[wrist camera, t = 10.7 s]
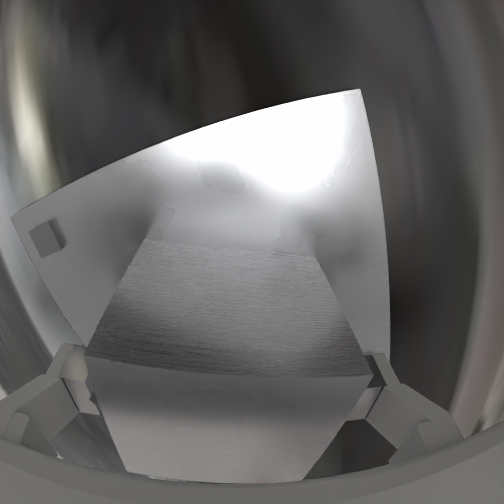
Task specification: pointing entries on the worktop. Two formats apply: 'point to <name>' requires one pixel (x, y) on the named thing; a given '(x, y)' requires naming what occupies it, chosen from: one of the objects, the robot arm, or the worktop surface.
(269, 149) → the plate
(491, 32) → the worktop surface
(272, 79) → the worktop surface
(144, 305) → the chalk-like cube
